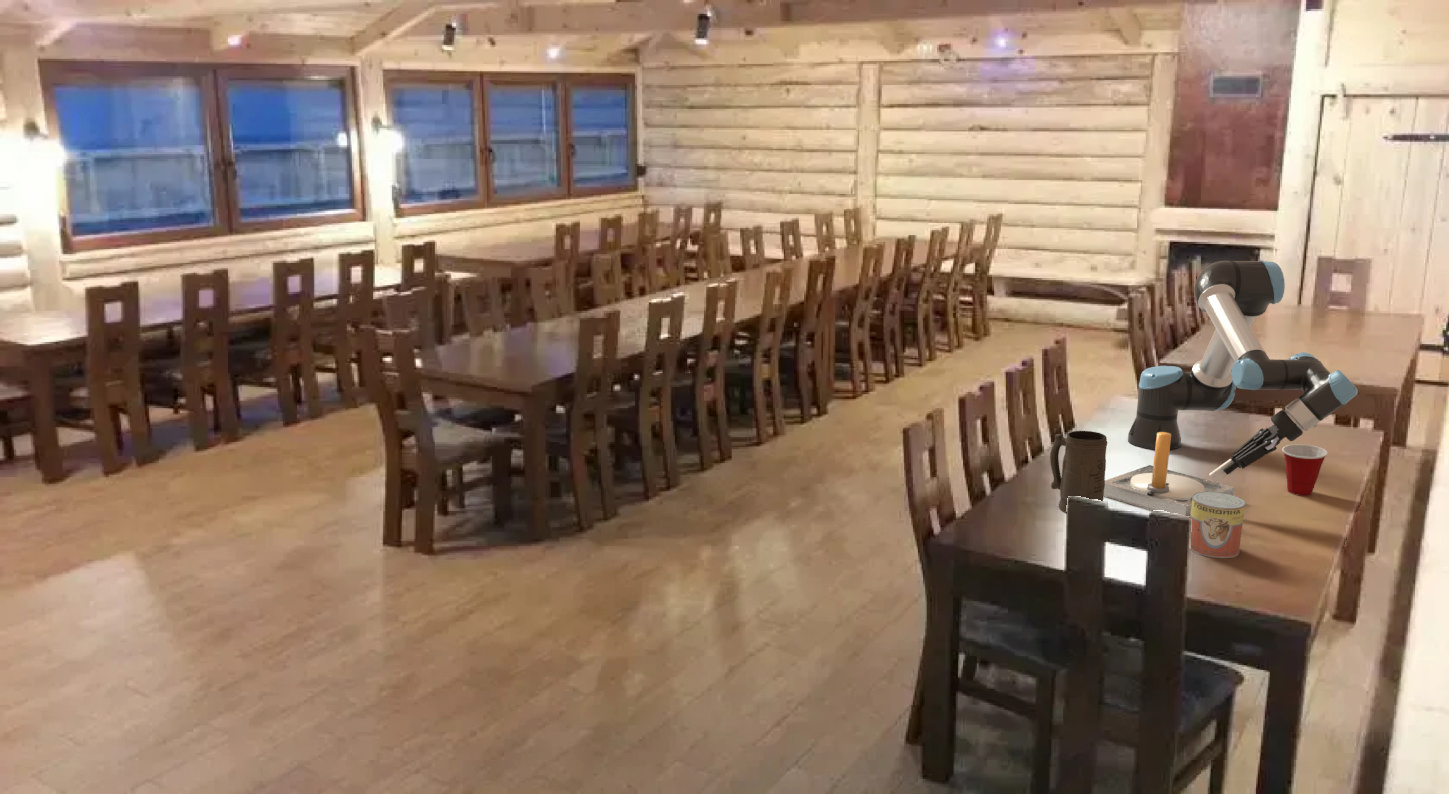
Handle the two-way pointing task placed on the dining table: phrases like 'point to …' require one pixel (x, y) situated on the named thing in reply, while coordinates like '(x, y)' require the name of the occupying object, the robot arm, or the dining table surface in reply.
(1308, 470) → the plastic cup
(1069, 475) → the beer stein
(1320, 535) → the dining table surface
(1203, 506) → the canned food
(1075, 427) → the dining table surface
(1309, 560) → the dining table surface
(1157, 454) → the dial
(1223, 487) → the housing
